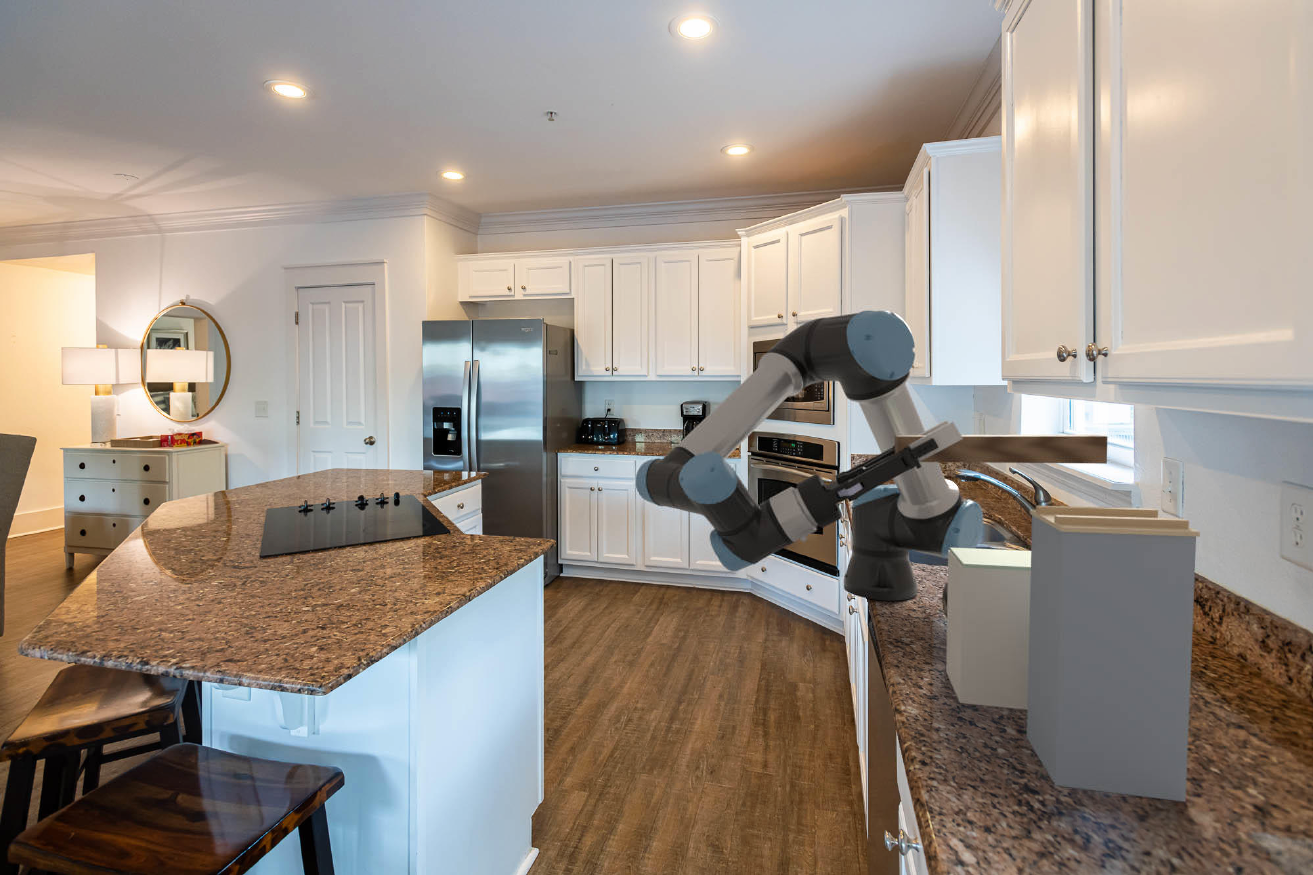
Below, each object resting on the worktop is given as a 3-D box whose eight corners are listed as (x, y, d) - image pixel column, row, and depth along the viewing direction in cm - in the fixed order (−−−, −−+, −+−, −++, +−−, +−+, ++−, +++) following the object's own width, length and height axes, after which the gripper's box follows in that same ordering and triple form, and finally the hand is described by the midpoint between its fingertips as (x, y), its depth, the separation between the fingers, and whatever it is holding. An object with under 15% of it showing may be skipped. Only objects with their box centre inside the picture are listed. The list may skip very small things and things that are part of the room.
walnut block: (1095, 460, 87) (1096, 434, 87) (1106, 463, 84) (1107, 436, 83) (894, 459, 94) (894, 434, 93) (897, 461, 90) (897, 436, 90)
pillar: (1140, 749, 76) (1148, 506, 74) (1188, 803, 66) (1200, 523, 64) (1024, 736, 79) (1029, 503, 77) (1054, 786, 69) (1061, 519, 67)
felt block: (960, 702, 87) (962, 564, 86) (946, 672, 97) (948, 547, 96) (1127, 719, 82) (1132, 572, 81) (1095, 685, 92) (1099, 553, 91)
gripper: (820, 518, 103) (956, 447, 97) (820, 541, 87) (983, 458, 81) (796, 478, 104) (930, 405, 98) (792, 494, 88) (952, 407, 82)
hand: (953, 429), depth 90 cm, fingers closed on walnut block, 4 cm apart
